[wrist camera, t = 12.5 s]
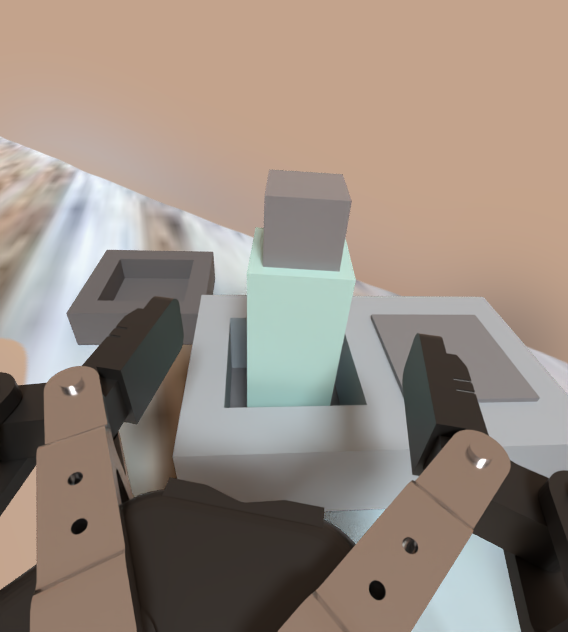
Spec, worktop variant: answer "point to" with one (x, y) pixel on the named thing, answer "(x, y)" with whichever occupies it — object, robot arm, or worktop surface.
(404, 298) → the grey divided tray
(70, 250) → the worktop surface
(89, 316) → the grey square tray
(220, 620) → the robot arm
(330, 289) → the plug
